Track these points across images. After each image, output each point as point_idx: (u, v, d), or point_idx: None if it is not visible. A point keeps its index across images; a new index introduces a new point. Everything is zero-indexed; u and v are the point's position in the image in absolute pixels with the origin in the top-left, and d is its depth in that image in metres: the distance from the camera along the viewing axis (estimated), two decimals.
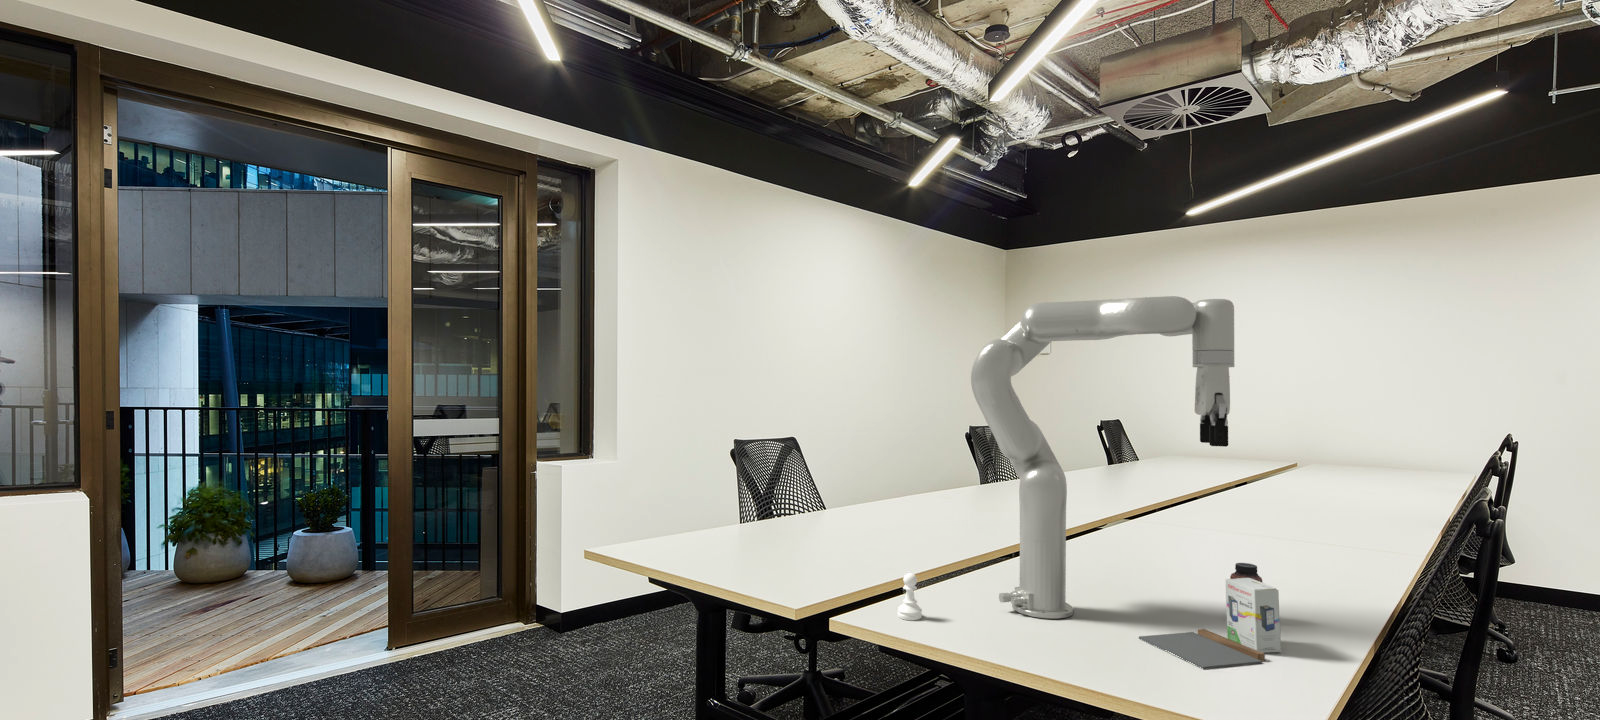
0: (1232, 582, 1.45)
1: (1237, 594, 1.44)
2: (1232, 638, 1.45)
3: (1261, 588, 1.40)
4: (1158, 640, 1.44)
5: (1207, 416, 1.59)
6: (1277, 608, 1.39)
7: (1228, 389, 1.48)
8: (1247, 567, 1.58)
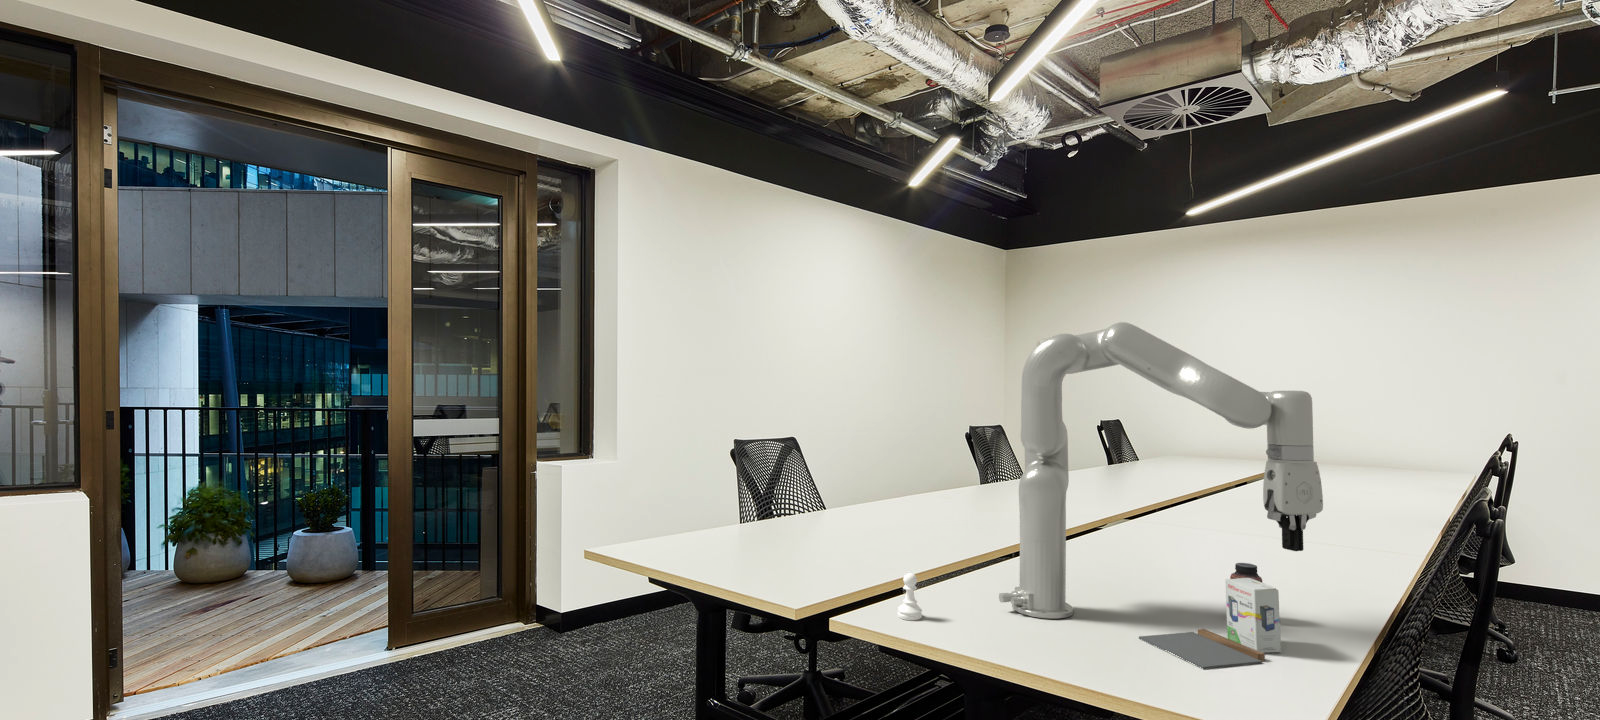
0: (1232, 582, 1.45)
1: (1237, 594, 1.44)
2: (1232, 638, 1.45)
3: (1261, 588, 1.40)
4: (1158, 640, 1.44)
5: None
6: (1277, 608, 1.39)
7: None
8: (1247, 567, 1.58)
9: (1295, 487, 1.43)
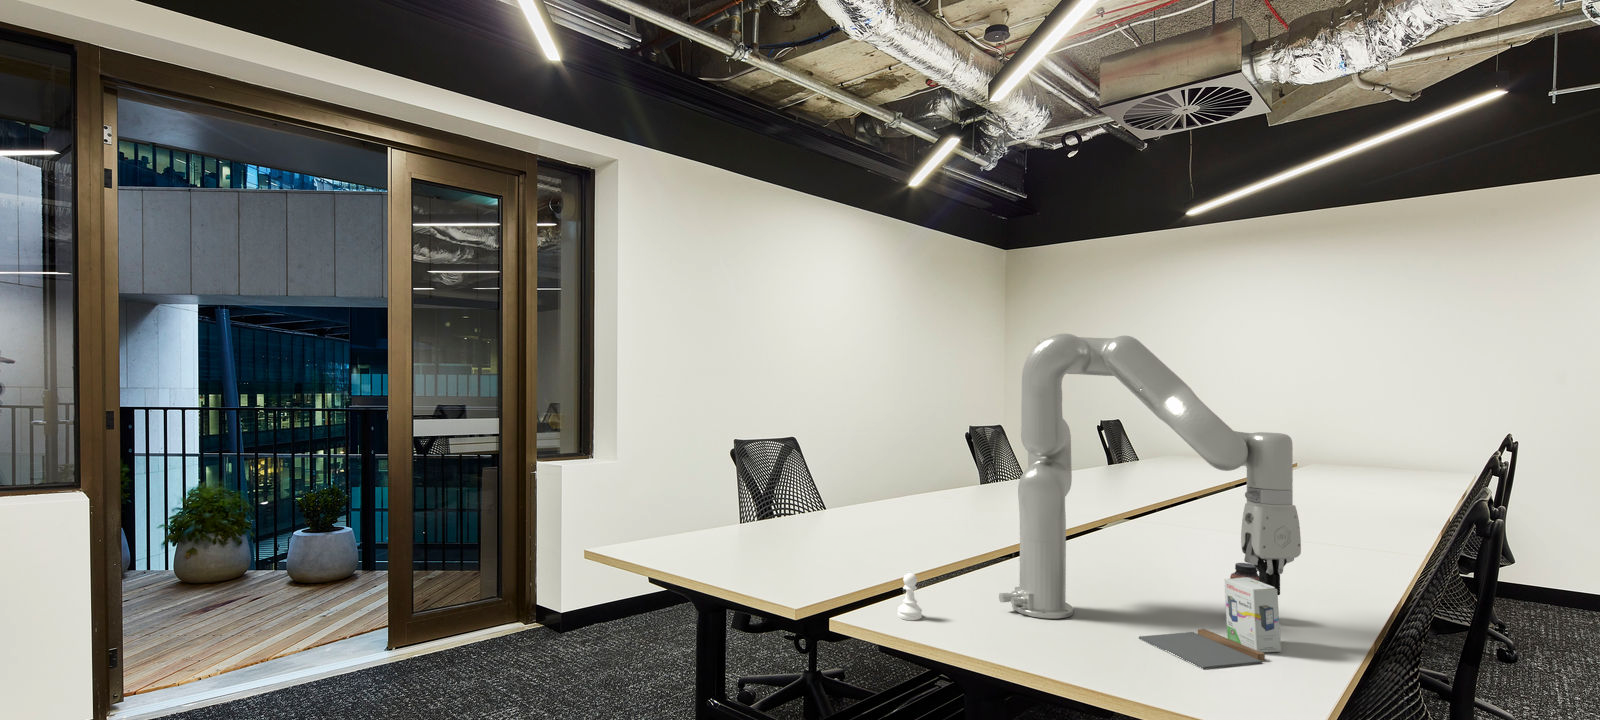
0: (1231, 582, 1.45)
1: (1236, 594, 1.43)
2: (1232, 638, 1.45)
3: (1260, 588, 1.40)
4: (1158, 640, 1.44)
5: None
6: (1276, 607, 1.39)
7: None
8: (1247, 567, 1.58)
9: (1273, 531, 1.41)
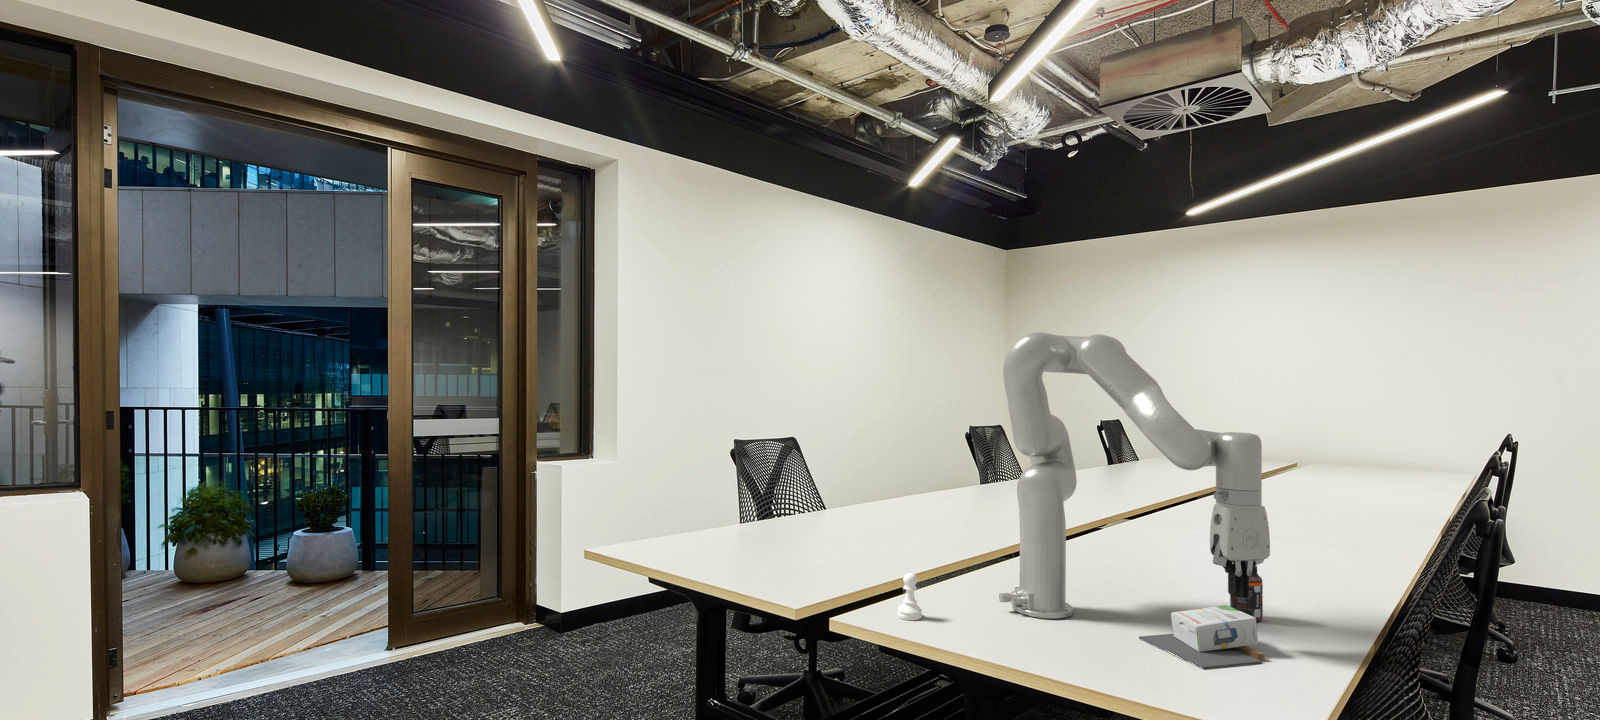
0: (1180, 640, 1.44)
1: None
2: None
3: (1195, 640, 1.38)
4: (1158, 640, 1.44)
5: None
6: (1215, 626, 1.38)
7: None
8: None
9: (1241, 533, 1.40)
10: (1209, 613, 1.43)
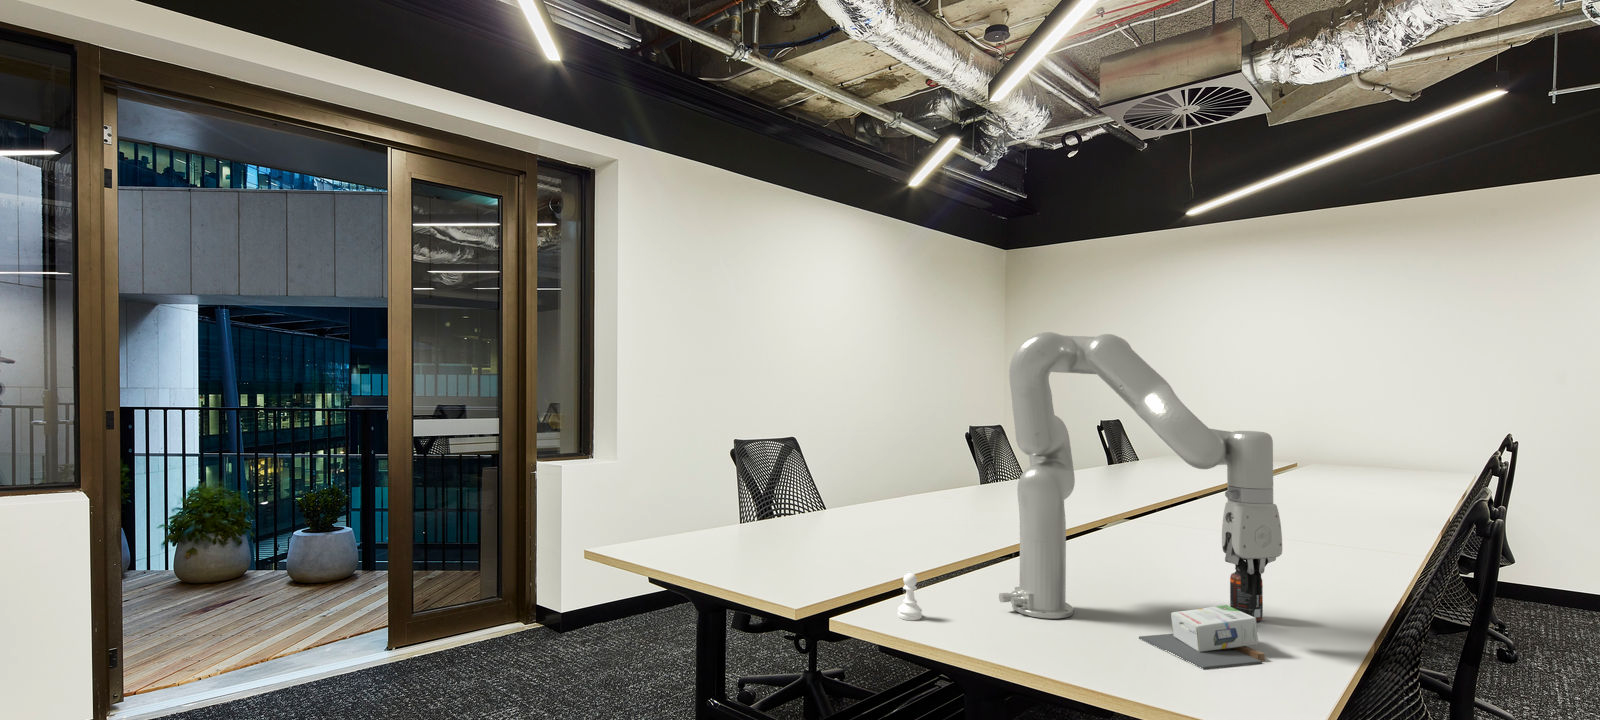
0: None
1: None
2: None
3: (1195, 640, 1.38)
4: (1158, 640, 1.44)
5: None
6: (1215, 626, 1.38)
7: None
8: None
9: (1253, 531, 1.40)
10: (1209, 613, 1.43)
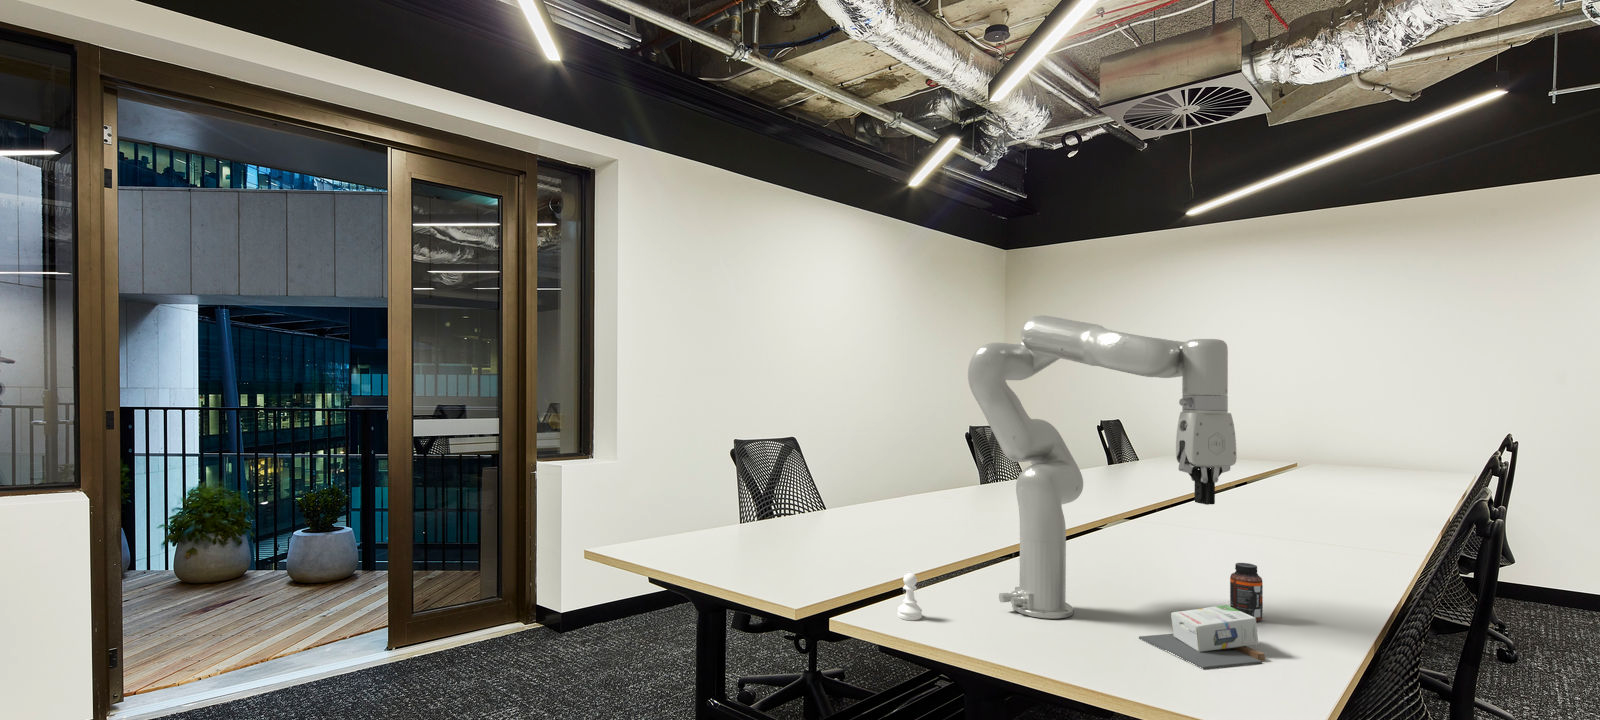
0: None
1: None
2: None
3: (1195, 640, 1.38)
4: (1158, 640, 1.44)
5: None
6: (1215, 626, 1.38)
7: None
8: (1247, 567, 1.58)
9: (1207, 438, 1.38)
10: (1209, 613, 1.43)
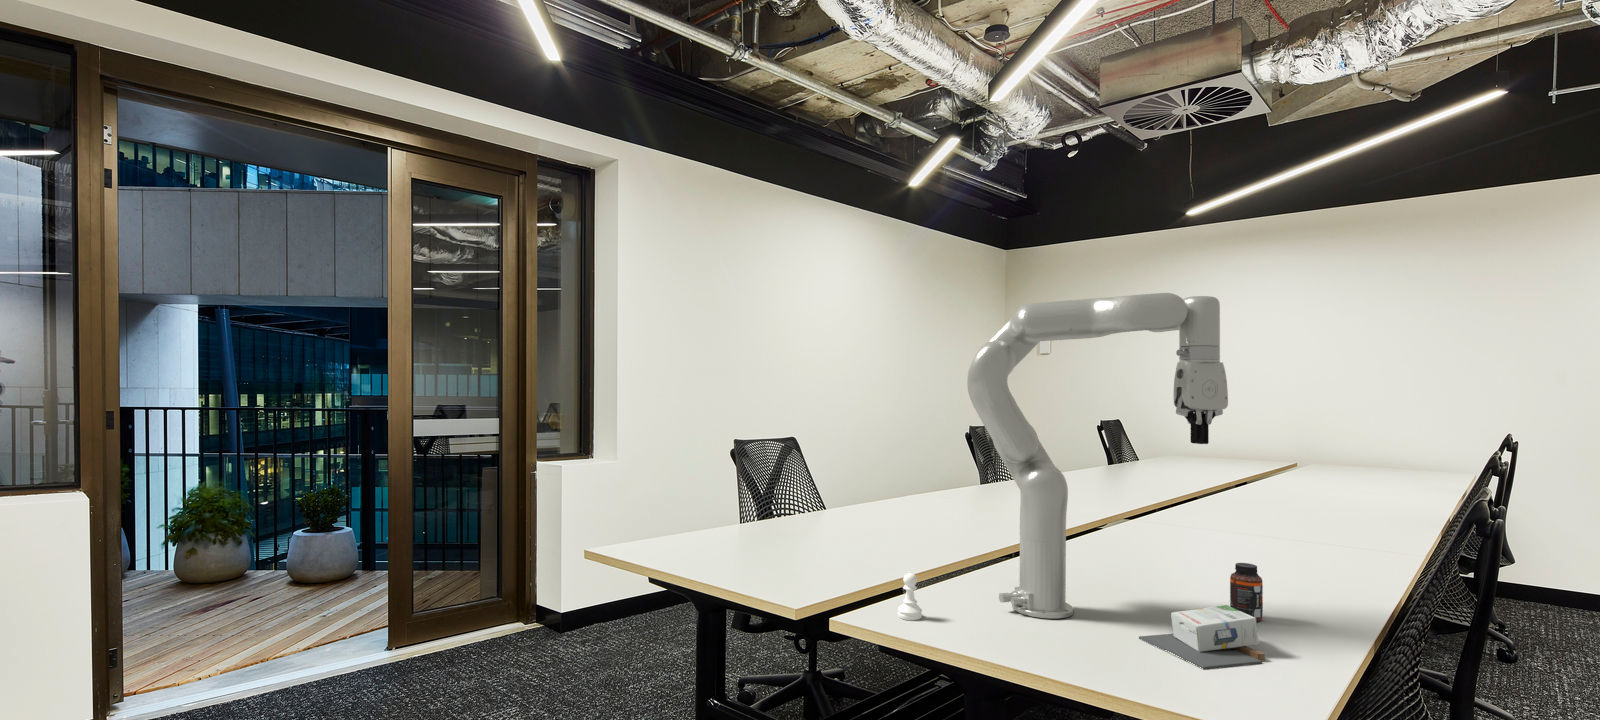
0: None
1: None
2: None
3: (1195, 640, 1.38)
4: (1158, 640, 1.44)
5: None
6: (1215, 626, 1.38)
7: None
8: (1247, 567, 1.58)
9: (1201, 384, 1.55)
10: (1209, 613, 1.43)
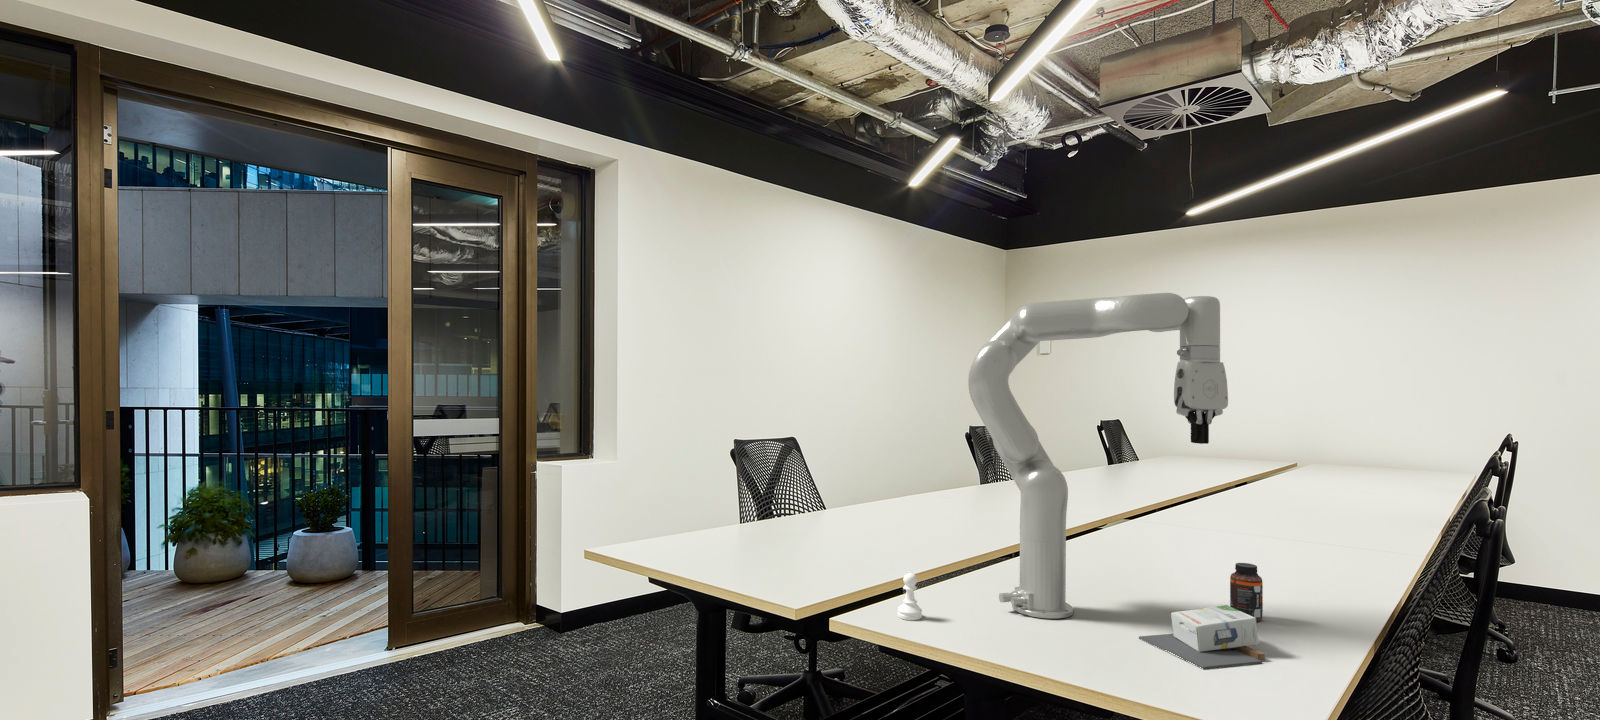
0: None
1: None
2: None
3: (1195, 640, 1.38)
4: (1158, 640, 1.44)
5: None
6: (1215, 626, 1.38)
7: None
8: (1247, 567, 1.58)
9: (1201, 383, 1.55)
10: (1209, 613, 1.43)
